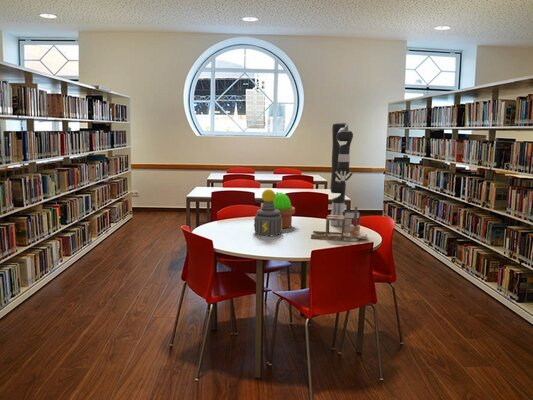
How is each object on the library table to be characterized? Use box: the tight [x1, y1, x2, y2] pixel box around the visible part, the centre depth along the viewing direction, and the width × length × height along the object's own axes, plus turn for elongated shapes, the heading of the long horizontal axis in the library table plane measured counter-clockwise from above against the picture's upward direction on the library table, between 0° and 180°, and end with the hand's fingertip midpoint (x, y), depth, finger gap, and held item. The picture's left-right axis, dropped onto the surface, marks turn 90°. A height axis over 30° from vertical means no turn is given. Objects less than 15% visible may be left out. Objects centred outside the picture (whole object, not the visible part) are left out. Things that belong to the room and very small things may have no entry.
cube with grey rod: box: [343, 206, 368, 239], centre depth 309 cm, size 16×9×19 cm, turn 78°
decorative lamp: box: [253, 188, 283, 236], centre depth 322 cm, size 19×19×30 cm
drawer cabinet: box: [310, 214, 359, 242], centre depth 313 cm, size 30×12×14 cm, turn 78°
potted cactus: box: [273, 192, 296, 229], centre depth 348 cm, size 22×22×25 cm
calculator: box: [343, 210, 361, 233], centre depth 328 cm, size 11×4×15 cm, turn 101°
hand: (342, 186), depth 323 cm, fingers closed
